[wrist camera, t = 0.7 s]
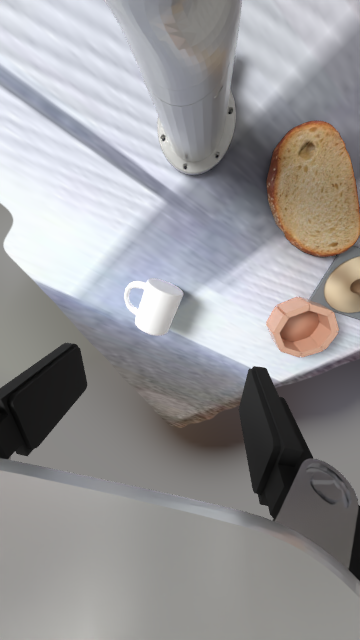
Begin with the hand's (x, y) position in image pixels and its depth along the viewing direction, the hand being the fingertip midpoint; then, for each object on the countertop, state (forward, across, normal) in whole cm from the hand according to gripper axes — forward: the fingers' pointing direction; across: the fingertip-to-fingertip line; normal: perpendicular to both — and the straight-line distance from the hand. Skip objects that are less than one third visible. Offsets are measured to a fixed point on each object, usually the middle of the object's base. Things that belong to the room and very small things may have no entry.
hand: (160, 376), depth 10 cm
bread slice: (+33, -19, -15) cm, 41 cm away
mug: (+33, +10, +6) cm, 35 cm away
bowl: (+33, -23, +9) cm, 41 cm away
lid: (+32, -31, 0) cm, 45 cm away
